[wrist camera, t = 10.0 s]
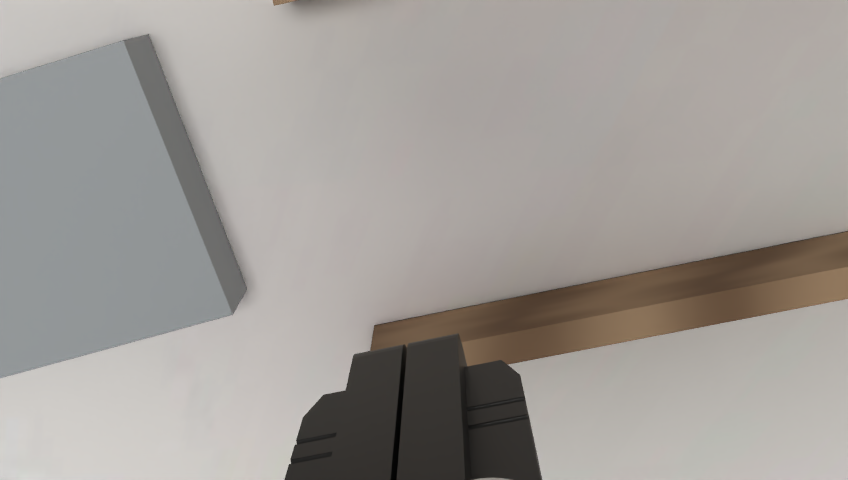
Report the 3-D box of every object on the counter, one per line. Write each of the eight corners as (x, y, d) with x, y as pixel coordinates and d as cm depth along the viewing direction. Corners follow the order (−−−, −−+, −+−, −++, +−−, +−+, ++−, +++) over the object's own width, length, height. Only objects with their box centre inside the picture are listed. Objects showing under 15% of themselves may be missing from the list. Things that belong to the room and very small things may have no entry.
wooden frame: (1070, -220, 26) (1150, -244, 23) (1058, 219, 30) (1123, 245, 27) (280, -34, 28) (263, -35, 25) (381, 352, 32) (376, 389, 29)
